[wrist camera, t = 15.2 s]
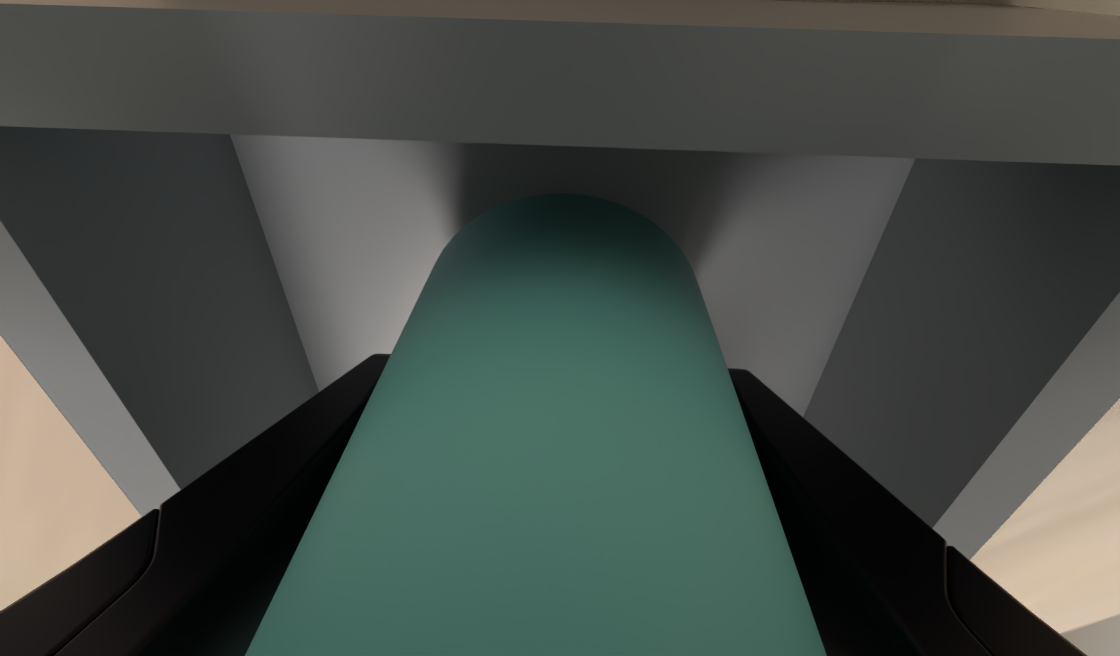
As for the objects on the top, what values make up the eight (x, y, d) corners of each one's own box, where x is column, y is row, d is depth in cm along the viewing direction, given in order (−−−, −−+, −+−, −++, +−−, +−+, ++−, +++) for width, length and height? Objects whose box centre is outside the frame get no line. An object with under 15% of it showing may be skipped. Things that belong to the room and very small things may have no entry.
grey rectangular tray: (744, 582, 19) (789, 755, 15) (367, 564, 19) (308, 730, 15) (1012, 5, 8) (1439, 50, 4) (147, -22, 8) (-264, -5, 4)
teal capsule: (725, 194, 8) (1107, 841, 2) (681, 422, 11) (788, 940, 5) (401, 192, 8) (-53, 780, 2) (446, 416, 11) (298, 912, 5)
